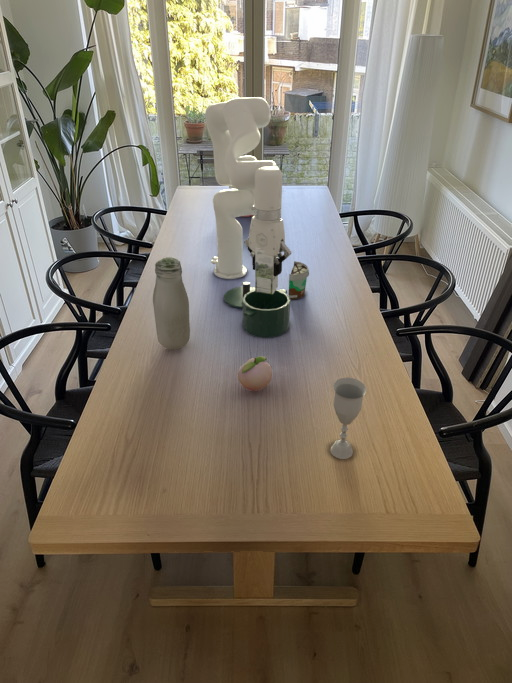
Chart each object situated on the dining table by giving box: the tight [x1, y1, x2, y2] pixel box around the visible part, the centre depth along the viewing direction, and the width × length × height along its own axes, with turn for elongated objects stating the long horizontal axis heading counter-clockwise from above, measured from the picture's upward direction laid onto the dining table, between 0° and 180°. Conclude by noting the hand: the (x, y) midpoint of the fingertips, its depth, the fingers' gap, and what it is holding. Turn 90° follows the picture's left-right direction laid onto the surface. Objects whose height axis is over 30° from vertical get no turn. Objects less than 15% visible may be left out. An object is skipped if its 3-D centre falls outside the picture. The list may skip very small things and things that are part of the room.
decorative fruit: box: [237, 355, 273, 392], centre depth 134 cm, size 9×8×10 cm
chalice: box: [330, 377, 367, 460], centre depth 112 cm, size 7×7×18 cm
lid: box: [223, 281, 255, 309], centre depth 178 cm, size 16×16×6 cm
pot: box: [242, 288, 291, 339], centre depth 162 cm, size 15×20×10 cm
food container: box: [288, 260, 310, 301], centre depth 181 cm, size 12×6×10 cm, turn 168°
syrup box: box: [254, 247, 279, 294], centre depth 154 cm, size 6×6×14 cm
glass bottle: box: [152, 256, 191, 351], centre depth 147 cm, size 10×10×28 cm
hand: (266, 271), depth 154 cm, fingers closed on syrup box, 6 cm apart
